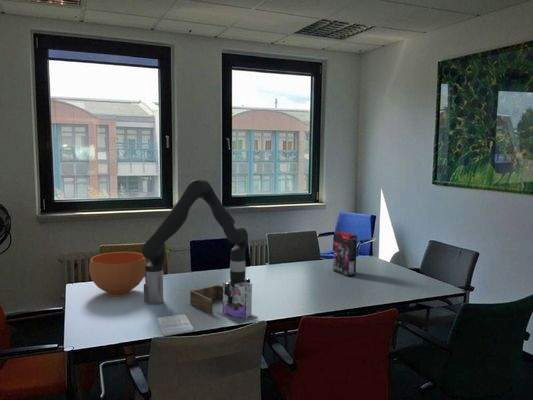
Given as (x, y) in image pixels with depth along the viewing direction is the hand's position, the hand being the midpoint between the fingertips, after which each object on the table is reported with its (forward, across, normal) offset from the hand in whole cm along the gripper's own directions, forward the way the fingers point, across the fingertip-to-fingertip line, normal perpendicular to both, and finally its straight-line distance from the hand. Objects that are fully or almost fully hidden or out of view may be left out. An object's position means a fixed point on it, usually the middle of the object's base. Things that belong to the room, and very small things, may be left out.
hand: (237, 301), depth 219 cm
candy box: (+7, 0, 0) cm, 7 cm away
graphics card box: (+7, +103, +17) cm, 105 cm away
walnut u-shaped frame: (+7, 0, +19) cm, 20 cm away
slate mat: (+7, 0, 0) cm, 7 cm away
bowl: (+7, -31, +69) cm, 76 cm away
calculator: (+8, -30, +8) cm, 32 cm away
